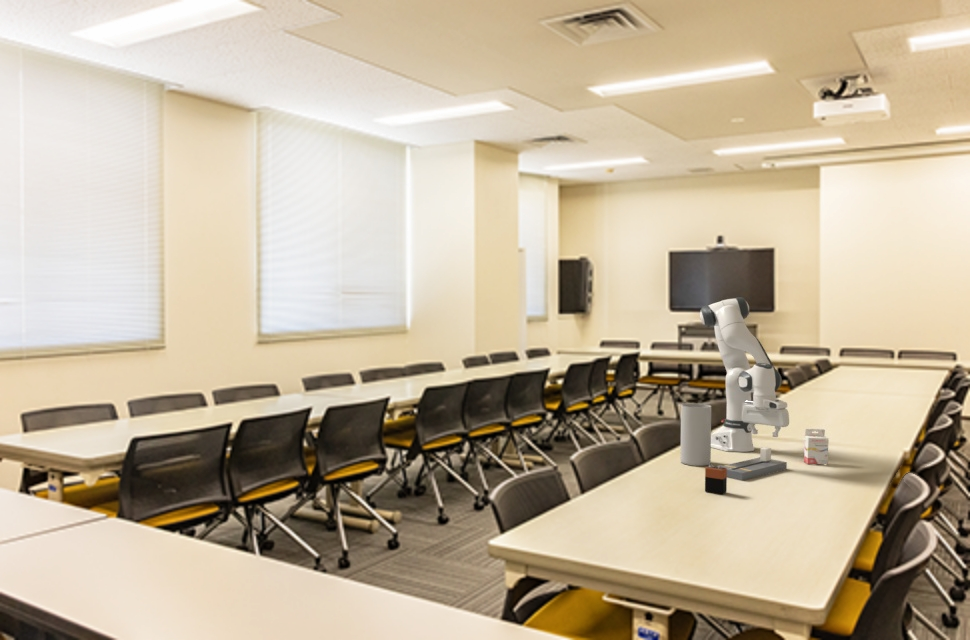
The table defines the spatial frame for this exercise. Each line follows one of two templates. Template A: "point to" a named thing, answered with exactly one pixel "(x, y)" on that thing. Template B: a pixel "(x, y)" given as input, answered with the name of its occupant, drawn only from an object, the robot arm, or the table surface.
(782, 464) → the console
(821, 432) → the ink cartridge box
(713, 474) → the battery
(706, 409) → the cylinder vase
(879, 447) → the table surface
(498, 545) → the table surface
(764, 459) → the fader
